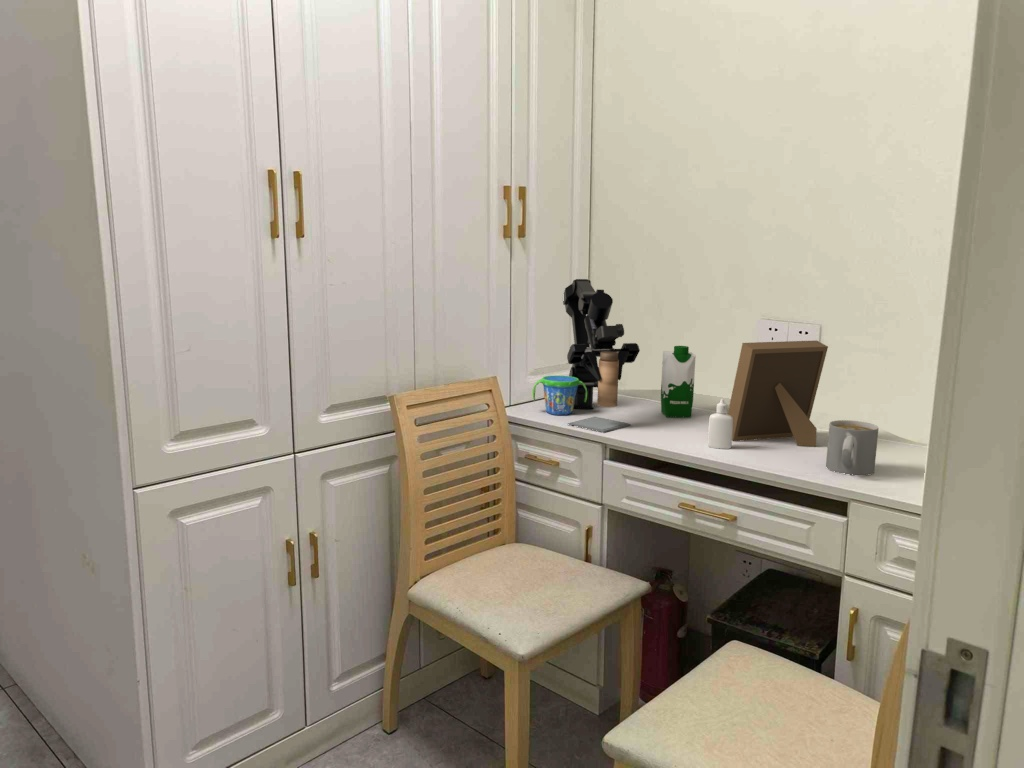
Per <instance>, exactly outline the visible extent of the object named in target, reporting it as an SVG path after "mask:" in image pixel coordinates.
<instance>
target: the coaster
mask: <svg viewBox="0 0 1024 768" xmlns="http://www.w3.org/2000/svg"><path fill="white" fill-rule="evenodd" d="M568 424H569V425H574V426H578V427H577V428H579V427H583V428H587V429H586V430H588V429H593V430H597V431H601V432H600V433H602V432H605V433H608V432H607V431H609V432H611V431H610V430H612V431H616V430H618V428H620V429H623V428H626V427H630V426H631V423H630V422H624V421H619V420H614V419H609V418H604V417H599V416H592V417H591V416H590V417H588V418H584V419H580V420H575V421H572V422H567V425H568ZM569 425H568V426H569ZM574 426H573V427H574ZM583 428H582V429H583ZM615 429H616V430H615ZM593 430H592V431H593ZM597 431H596V432H597Z"/></svg>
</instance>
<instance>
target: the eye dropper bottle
mask: <svg viewBox="0 0 1024 768" xmlns="http://www.w3.org/2000/svg"><path fill="white" fill-rule="evenodd" d="M708 418H709V419H708V430H707V431H708V433H707V447H708V448H711V447H712V448H713V449H717V448H720V449H719V450H730V449H731V448H732V443H733V441H732V431H733V417H732V416H731V415H728V404H727V403H725V399H724V398H720V402H718V403H717V404H716V412H714V413H712V414H710V416H709V417H708ZM712 448H711V449H712Z"/></svg>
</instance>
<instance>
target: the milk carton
mask: <svg viewBox="0 0 1024 768" xmlns="http://www.w3.org/2000/svg"><path fill="white" fill-rule="evenodd" d="M689 348H690V347H689V346H688V345H674V346H673V350H663V351H662V364H661V365H662V367H661V383H660V411H661V413H662V414H663V415H664V416H665V417H666V418H692V412H693V404H694V393H695V391H694V389H695V374H696V373H695V372H696V370H695V369H696V358H697V357H696V354H695V353H693V352H691V351H689V350H690V349H689Z"/></svg>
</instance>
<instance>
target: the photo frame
mask: <svg viewBox="0 0 1024 768" xmlns="http://www.w3.org/2000/svg"><path fill="white" fill-rule="evenodd" d="M828 348H829V346H828V345H826V344H824V343H822V342H820V341H819V340H816V339H815V340H795V341H794V340H792V341H790V340H787V341H765V342H764V341H761V342H759V341H758V342H756V341H755V342H742V345H741V349H740V353H739V359H738V364H737V368H736V372H735V378H734V381H733V387H732V391H731V392H732V393H731V397H730V401H729V407H728V409H727V414H728V415H731V416H732V417H733V431H732V442H741V441H740V440H744V441H753V440H754V439H757V440H767V438H770V439H780V438H781V437H783V438H793V439H794V440H795V441H794V442H795V443H796V446H800V447H803V446H804V447H805V446H807V447H816V446H817V429H818V428H817V427H816V426H815V424H813V422H812V420H811V415H812V411H813V408H814V403H815V400H816V395H817V392H818V391H817V390H818V389H819V388H818V387H819V384H820V379H821V375H822V373H823V368H824V364H825V360H826V357H827V352H828ZM792 436H794V437H792ZM781 439H782V438H781Z"/></svg>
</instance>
